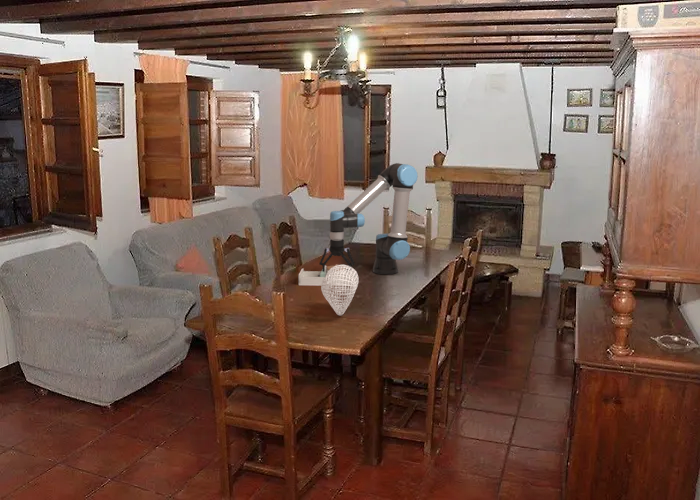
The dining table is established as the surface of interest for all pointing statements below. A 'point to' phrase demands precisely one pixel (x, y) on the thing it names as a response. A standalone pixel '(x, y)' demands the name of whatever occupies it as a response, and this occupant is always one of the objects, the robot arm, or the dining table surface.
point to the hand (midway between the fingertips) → (337, 277)
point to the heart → (327, 283)
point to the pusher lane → (316, 278)
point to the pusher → (322, 274)
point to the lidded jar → (334, 269)
